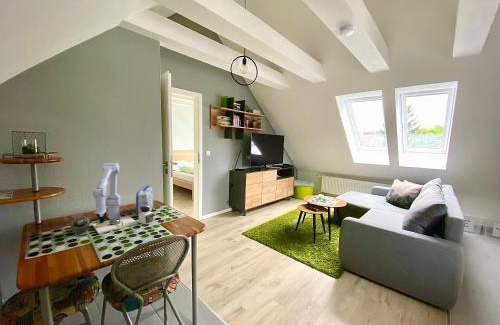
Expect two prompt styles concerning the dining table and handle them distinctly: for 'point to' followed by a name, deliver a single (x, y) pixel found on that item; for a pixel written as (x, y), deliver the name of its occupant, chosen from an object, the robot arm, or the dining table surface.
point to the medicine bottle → (145, 215)
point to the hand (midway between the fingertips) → (102, 223)
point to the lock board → (123, 223)
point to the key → (108, 222)
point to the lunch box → (144, 199)
